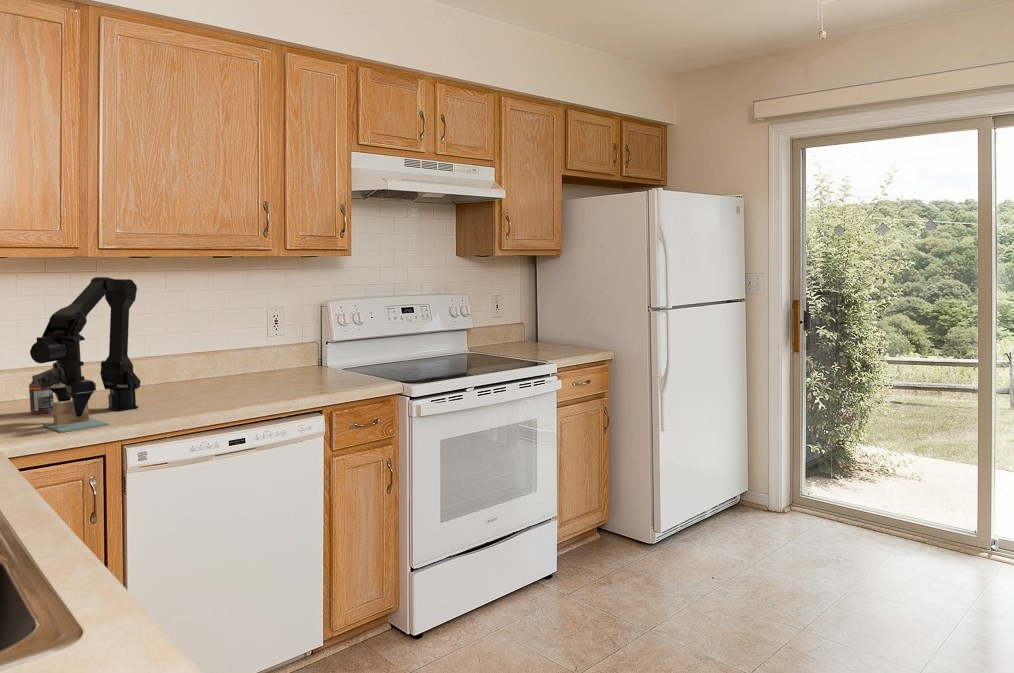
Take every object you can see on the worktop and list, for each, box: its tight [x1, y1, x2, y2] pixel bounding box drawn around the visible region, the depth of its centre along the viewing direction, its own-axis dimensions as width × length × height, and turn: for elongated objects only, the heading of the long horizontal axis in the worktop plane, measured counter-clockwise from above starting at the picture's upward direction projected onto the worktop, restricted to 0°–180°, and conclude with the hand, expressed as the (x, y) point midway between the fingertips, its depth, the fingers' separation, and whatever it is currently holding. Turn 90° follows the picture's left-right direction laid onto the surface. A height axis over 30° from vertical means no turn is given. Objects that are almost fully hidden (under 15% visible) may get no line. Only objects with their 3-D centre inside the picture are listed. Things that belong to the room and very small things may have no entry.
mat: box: [42, 417, 109, 434], centre depth 201 cm, size 12×12×1 cm
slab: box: [52, 399, 90, 426], centre depth 202 cm, size 8×2×6 cm, turn 142°
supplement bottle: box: [28, 374, 55, 415], centre depth 217 cm, size 6×6×11 cm
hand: (71, 414), depth 202 cm, fingers open, 9 cm apart
